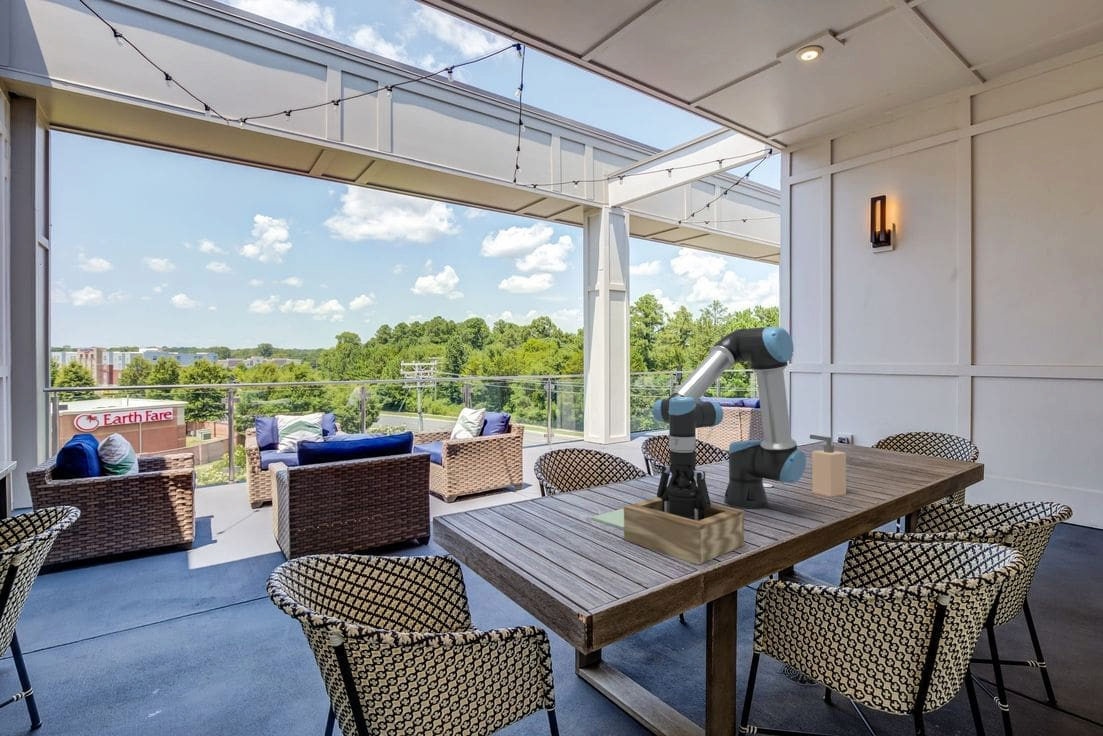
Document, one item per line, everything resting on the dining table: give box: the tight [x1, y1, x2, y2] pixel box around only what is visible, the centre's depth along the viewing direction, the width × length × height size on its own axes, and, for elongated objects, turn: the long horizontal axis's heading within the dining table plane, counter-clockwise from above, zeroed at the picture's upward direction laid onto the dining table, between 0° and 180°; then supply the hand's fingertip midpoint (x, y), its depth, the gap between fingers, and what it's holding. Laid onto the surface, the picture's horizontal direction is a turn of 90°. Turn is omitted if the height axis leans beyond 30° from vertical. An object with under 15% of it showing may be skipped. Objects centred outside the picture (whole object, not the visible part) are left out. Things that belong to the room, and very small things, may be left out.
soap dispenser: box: [809, 434, 847, 498], centre depth 213 cm, size 13×9×22 cm
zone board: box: [591, 507, 624, 531], centre depth 179 cm, size 16×16×1 cm
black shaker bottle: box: [668, 475, 699, 520], centre depth 156 cm, size 9×11×20 cm
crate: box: [623, 496, 745, 565], centre depth 156 cm, size 22×26×10 cm
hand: (683, 526), depth 156 cm, fingers closed on black shaker bottle, 10 cm apart
